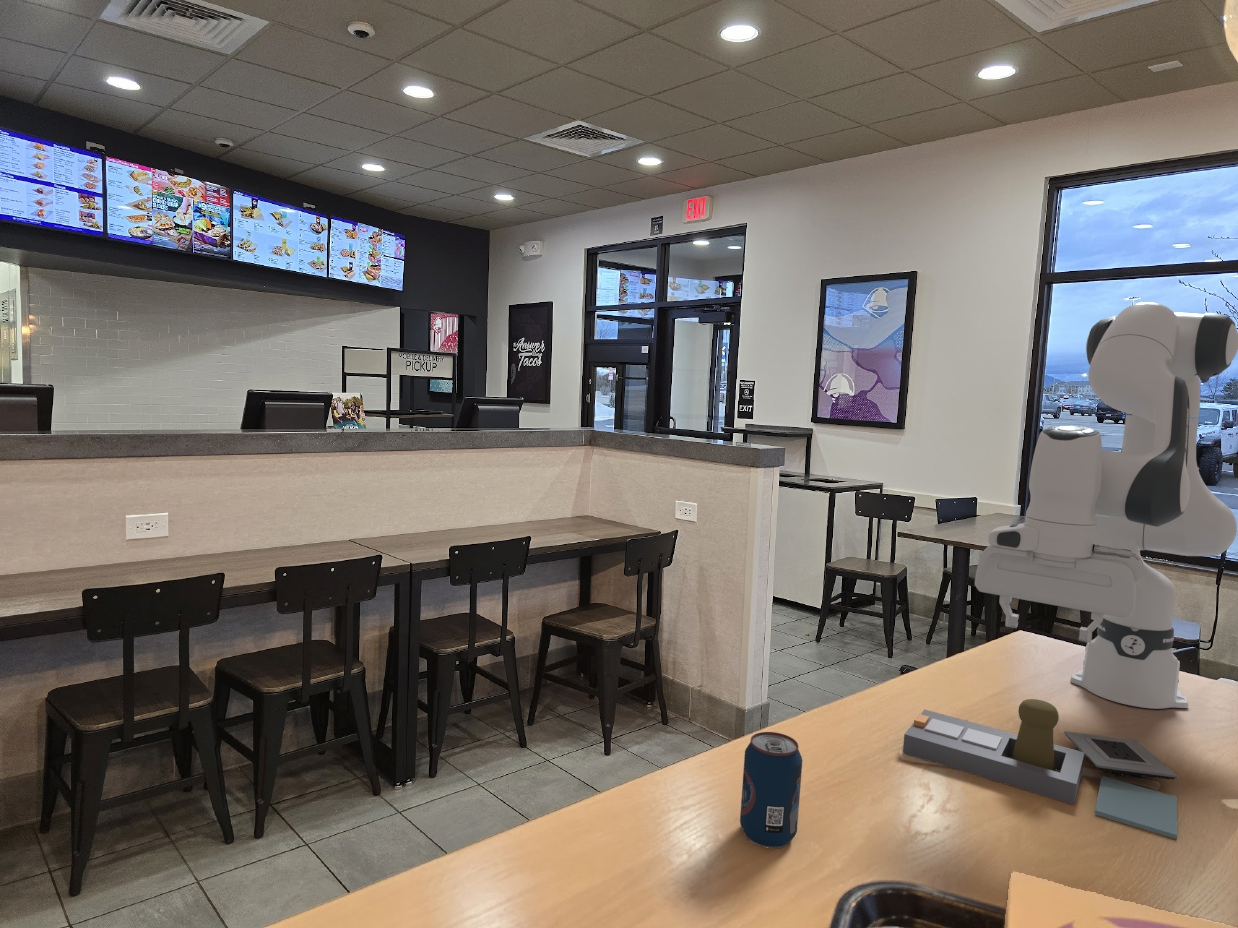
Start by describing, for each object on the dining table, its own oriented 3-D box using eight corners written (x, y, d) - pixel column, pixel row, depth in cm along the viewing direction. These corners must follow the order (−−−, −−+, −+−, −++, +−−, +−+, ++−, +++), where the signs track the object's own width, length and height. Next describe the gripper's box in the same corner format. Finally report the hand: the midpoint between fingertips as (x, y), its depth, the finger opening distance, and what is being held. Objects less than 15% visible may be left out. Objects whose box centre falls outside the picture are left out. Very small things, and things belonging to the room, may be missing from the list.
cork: (1045, 788, 112) (1053, 714, 111) (1001, 771, 116) (1009, 700, 115) (1061, 776, 116) (1069, 704, 115) (1019, 759, 120) (1026, 690, 119)
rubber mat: (1101, 779, 115) (1101, 775, 115) (1176, 800, 110) (1176, 796, 110) (1094, 814, 105) (1095, 810, 105) (1176, 839, 100) (1177, 834, 100)
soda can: (736, 817, 100) (742, 727, 99) (790, 820, 100) (797, 730, 99) (742, 849, 94) (749, 753, 92) (801, 853, 93) (809, 757, 92)
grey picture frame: (1176, 789, 112) (1177, 773, 112) (1095, 778, 114) (1096, 762, 114) (1135, 752, 125) (1136, 738, 125) (1062, 743, 127) (1064, 729, 127)
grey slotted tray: (922, 726, 131) (924, 704, 130) (1082, 771, 117) (1085, 747, 117) (902, 752, 121) (904, 728, 120) (1074, 804, 108) (1077, 778, 107)
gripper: (1145, 548, 109) (1133, 645, 110) (985, 526, 120) (976, 614, 122) (1144, 555, 104) (1131, 656, 105) (977, 531, 115) (968, 623, 117)
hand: (1047, 633), depth 114 cm, fingers open, 8 cm apart
